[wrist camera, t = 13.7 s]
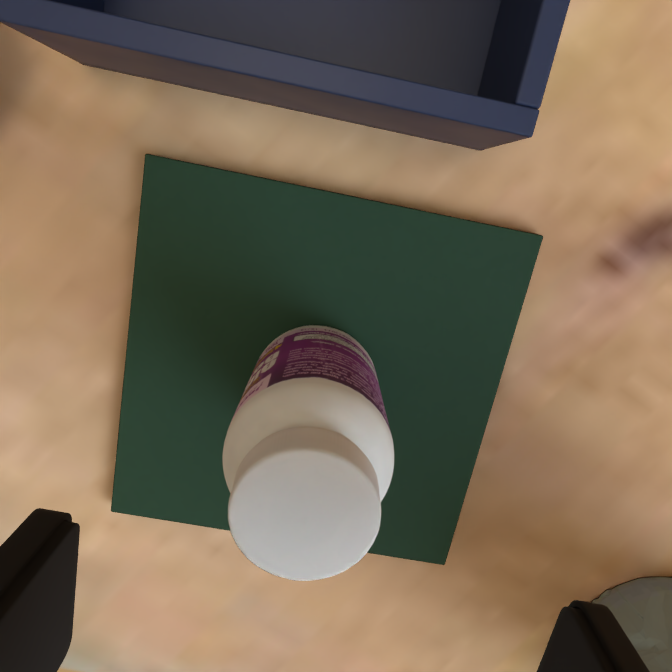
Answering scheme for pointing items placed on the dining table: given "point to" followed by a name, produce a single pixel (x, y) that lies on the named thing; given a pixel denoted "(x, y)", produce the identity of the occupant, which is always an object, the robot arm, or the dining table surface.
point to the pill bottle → (308, 456)
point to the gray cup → (645, 618)
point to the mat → (303, 310)
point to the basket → (328, 55)
